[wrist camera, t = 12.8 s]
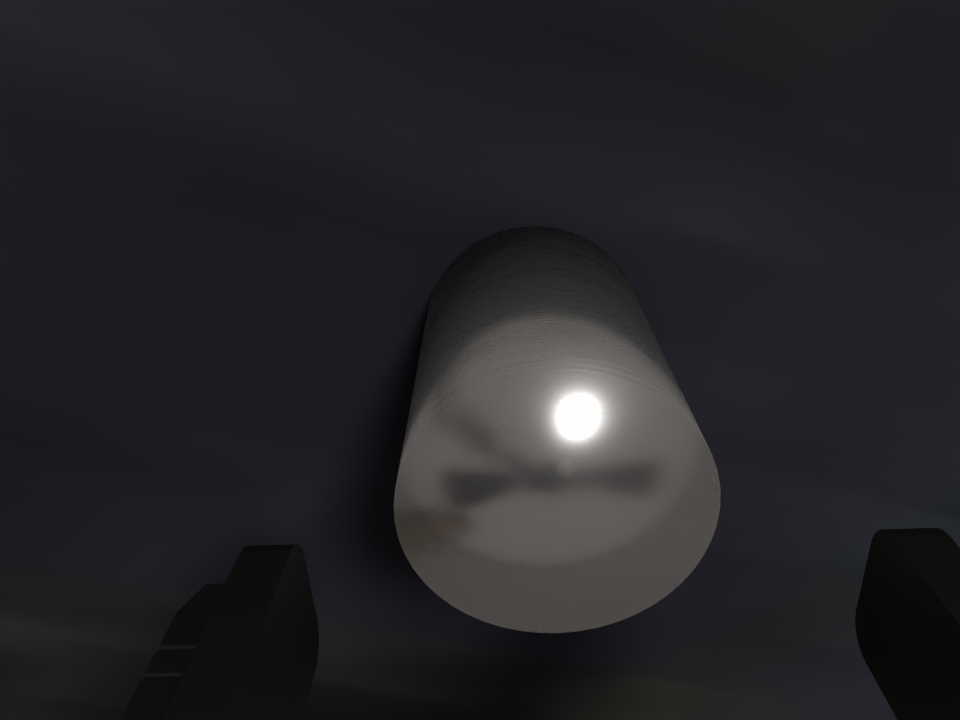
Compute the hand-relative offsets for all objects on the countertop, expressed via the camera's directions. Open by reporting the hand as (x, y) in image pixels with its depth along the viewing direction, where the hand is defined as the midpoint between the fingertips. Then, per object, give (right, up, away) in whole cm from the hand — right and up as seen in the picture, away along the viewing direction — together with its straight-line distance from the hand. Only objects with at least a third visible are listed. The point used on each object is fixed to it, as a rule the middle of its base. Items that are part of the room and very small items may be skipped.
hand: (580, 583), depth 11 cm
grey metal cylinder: (0, +4, +7) cm, 8 cm away
